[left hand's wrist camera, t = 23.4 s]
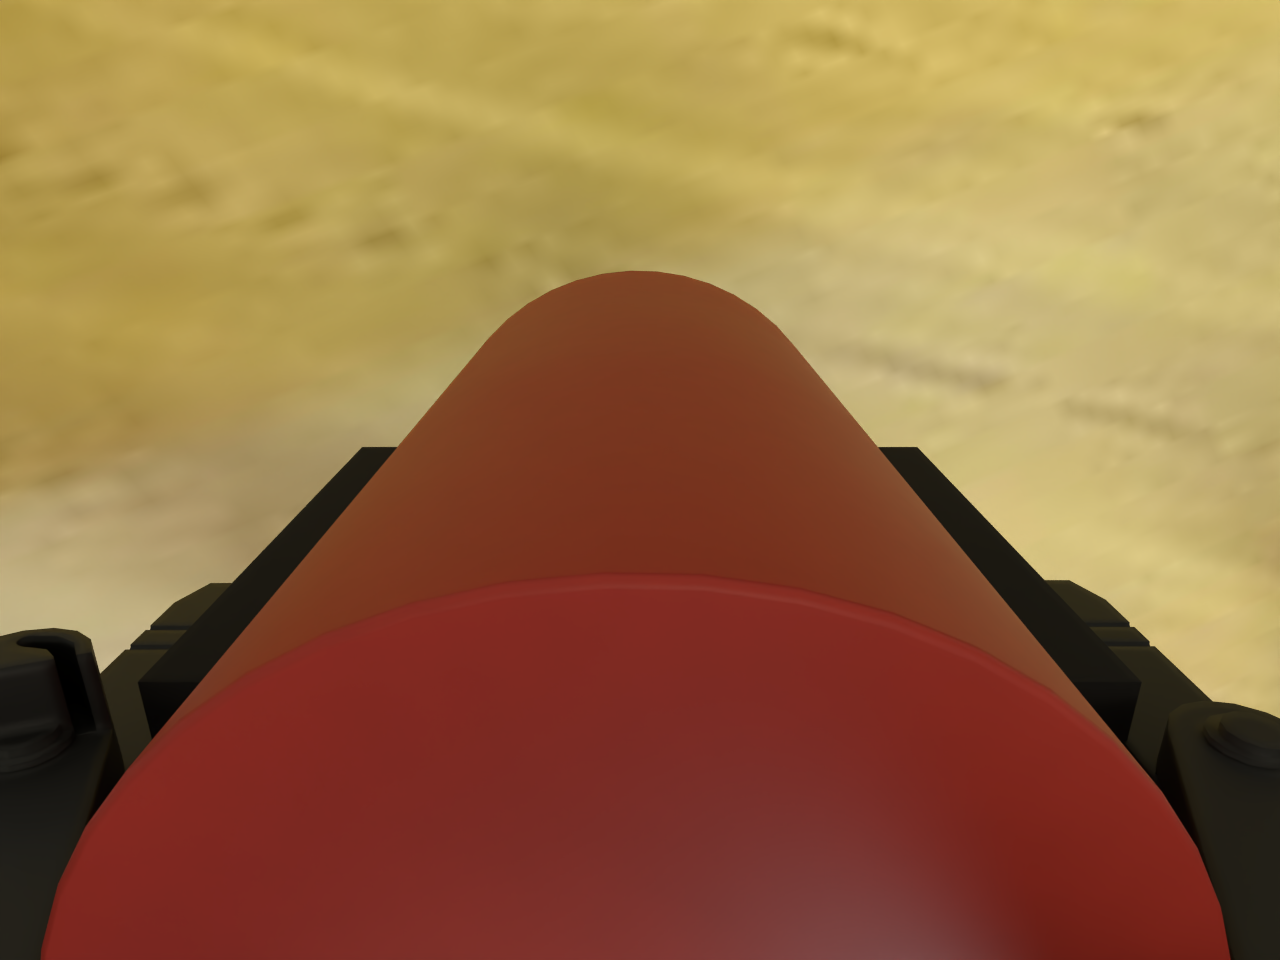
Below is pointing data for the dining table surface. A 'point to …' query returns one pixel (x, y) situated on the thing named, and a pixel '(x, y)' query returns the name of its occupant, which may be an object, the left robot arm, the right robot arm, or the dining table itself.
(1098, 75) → the dining table surface
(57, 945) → the can
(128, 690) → the left robot arm
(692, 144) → the dining table surface
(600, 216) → the dining table surface
